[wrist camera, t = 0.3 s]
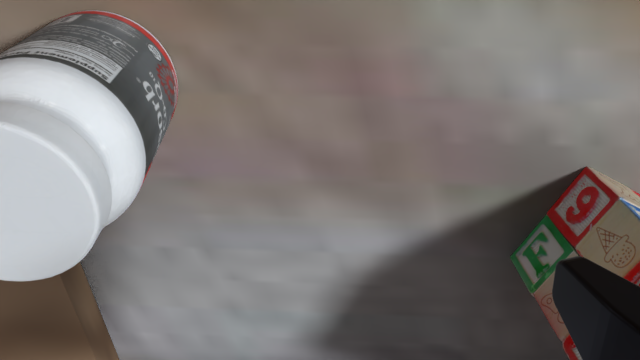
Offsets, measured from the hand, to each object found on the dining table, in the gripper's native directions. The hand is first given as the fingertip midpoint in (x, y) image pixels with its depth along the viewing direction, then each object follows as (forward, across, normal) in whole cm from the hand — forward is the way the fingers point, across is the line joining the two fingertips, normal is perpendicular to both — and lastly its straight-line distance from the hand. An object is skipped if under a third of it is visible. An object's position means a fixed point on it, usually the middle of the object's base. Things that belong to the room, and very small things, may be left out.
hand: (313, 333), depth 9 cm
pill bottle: (+15, +6, 0) cm, 16 cm away
